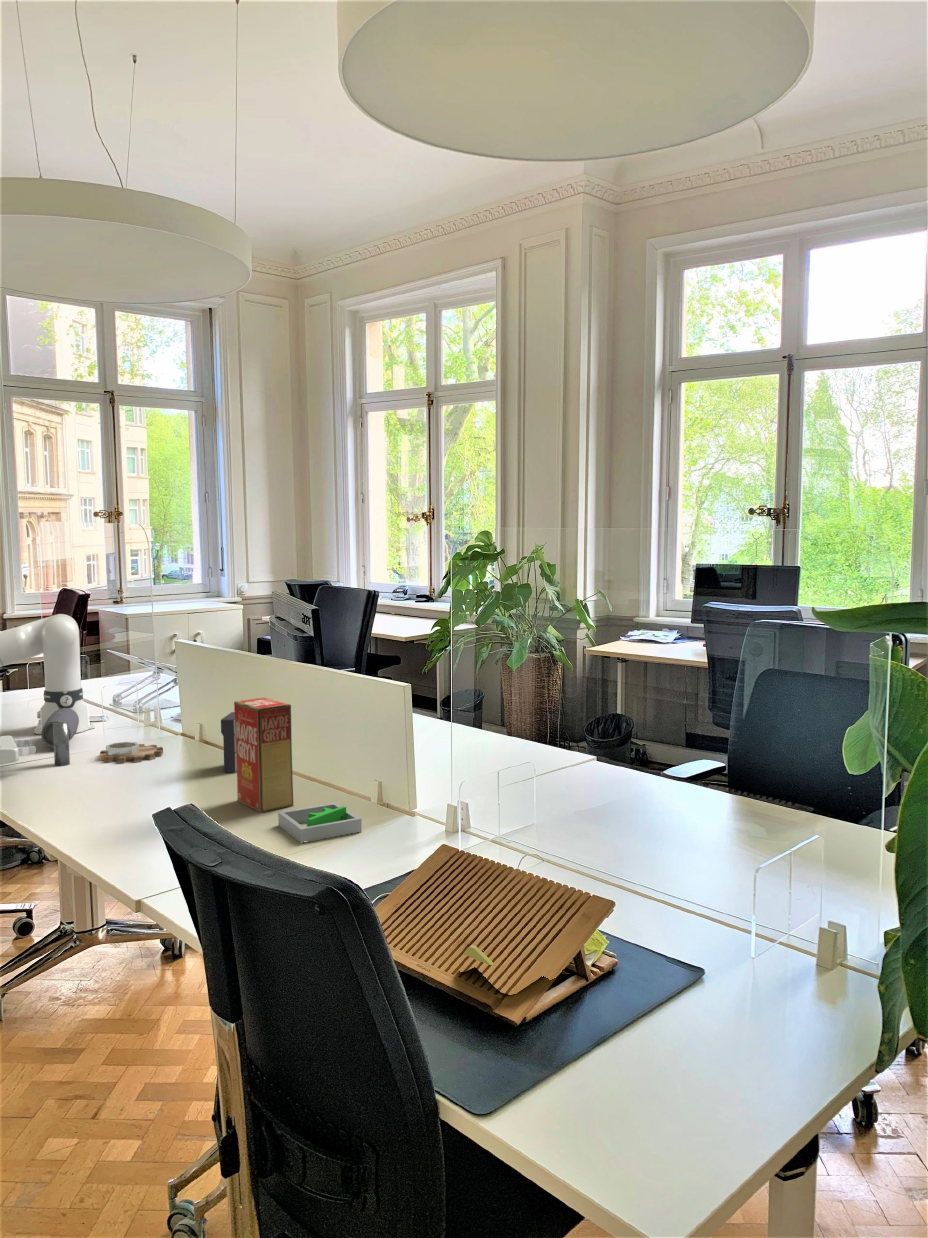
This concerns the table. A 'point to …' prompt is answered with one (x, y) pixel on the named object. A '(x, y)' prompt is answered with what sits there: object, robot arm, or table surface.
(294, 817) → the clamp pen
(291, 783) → the food packaging
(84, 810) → the table surface
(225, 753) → the charcoal rounded block
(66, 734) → the pin
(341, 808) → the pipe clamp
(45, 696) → the robot arm
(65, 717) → the bluetooth speaker
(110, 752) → the sprocket
